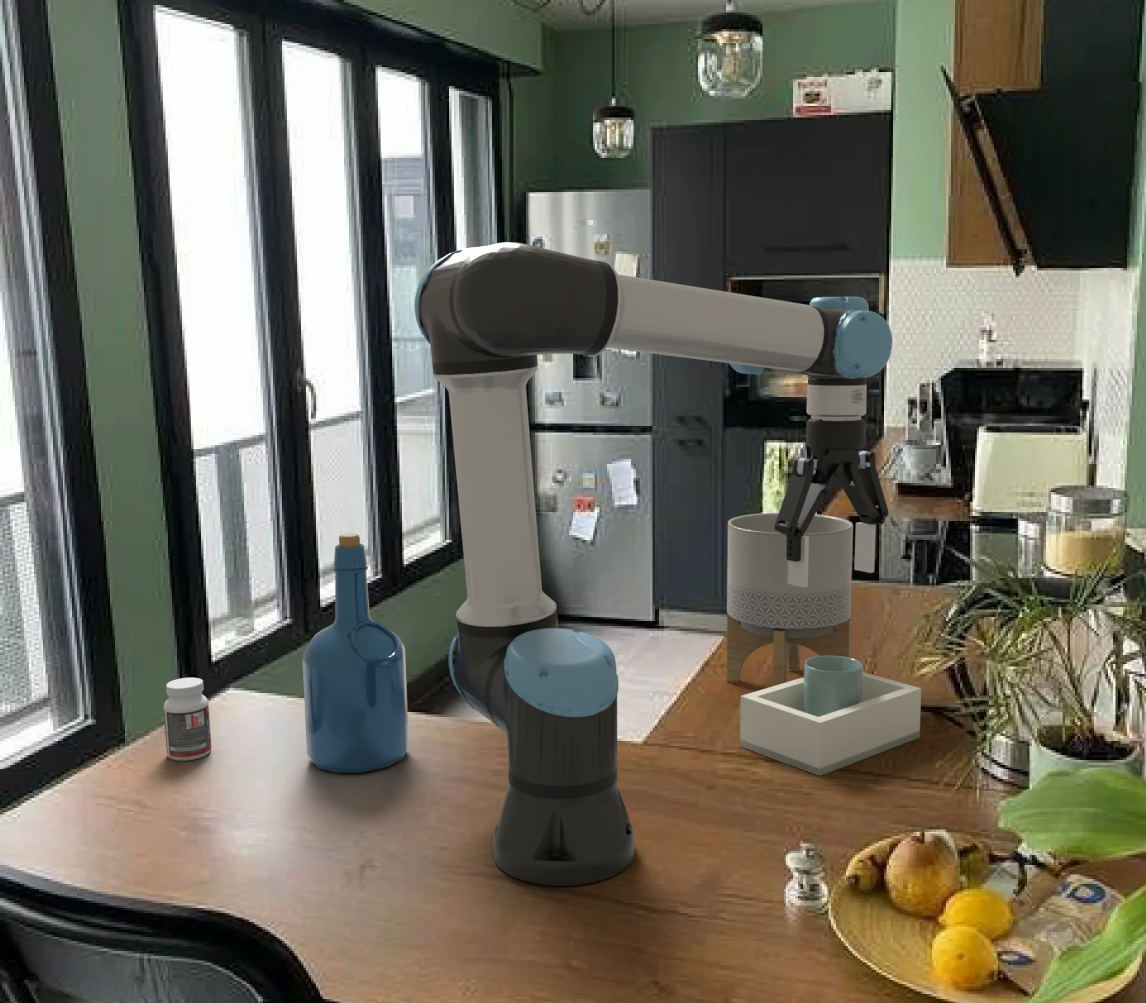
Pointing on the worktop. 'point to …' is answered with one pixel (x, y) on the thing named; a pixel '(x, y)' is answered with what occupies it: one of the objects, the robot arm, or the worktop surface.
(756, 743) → the open box
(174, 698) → the pill bottle
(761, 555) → the planter
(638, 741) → the worktop surface
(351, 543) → the wine bottle
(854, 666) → the cup
